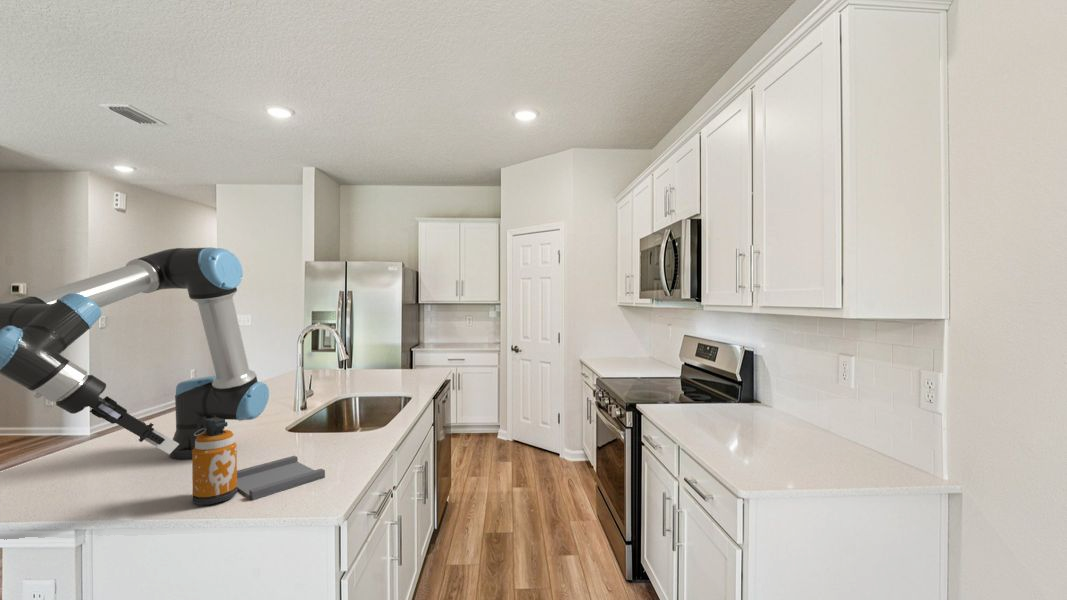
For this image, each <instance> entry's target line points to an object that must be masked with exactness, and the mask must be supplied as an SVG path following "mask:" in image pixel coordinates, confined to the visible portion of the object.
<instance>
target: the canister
mask: <svg viewBox="0 0 1067 600" xmlns="http://www.w3.org/2000/svg"><path fill="white" fill-rule="evenodd" d="M202 424H203V428H201V429H200V426H201V425H202ZM228 425H229V424H228V422H227V421H226V419H220V418H217V417H216V416H215V415H213V417H212V418H210V419H206V418H205V417H204V418H203V419H202V420H201V421H200V422H199V423H198V424H197V428H198V431H197V432H198V435H195V434H196V433H197V432H195V433H194V436H197V438H196V439H195V448H194V449H193V450H192V459H191V460H192V461H191V463H192V466H191V467H192V469H191V470H192V474H191V475H192V503H194V504H197V505H203V504H204V505H205V506H207V505H208V506H209V504H210V505H215V503H216V504H219V502H220V503H222V501H223V502H225V501H227V500H229V499H231V498H233V497H234V496H236V494H237V493H238V490H237V471H238V450H237V449H238V444H237V442H235V435H234V432H233V431H232V430H228V429H225V427H228ZM223 429H224V430H223ZM205 431H206V432H205ZM204 432H205V433H204Z"/></svg>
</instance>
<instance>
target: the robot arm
mask: <svg viewBox="0 0 1067 600" xmlns="http://www.w3.org/2000/svg"><path fill="white" fill-rule="evenodd" d="M243 272H244V271H243V266H242V264H241V261H240V260H239V258H238V257H237V256H236V255H235V254H234V253H232V252H231V251H230V250H228V249H225V248H221V247H220V248H216V247H178V248H177V247H176V248H175V247H174V248H170V249H165V250H160V251H158V252H154V253H151V254H150V253H149V254H147V255H145V256H142V257H138V258H135V259H132V260H129V261H127V263H126V264H125V266H122V267H119V268H116V269H113V270H110V271H106V272H103V273H101V274H97V275H94V276H90V277H88V278H83V279H81V280H78V281H75V282H72V283H68V284H64V285H62V286H58V287H55V288H52V289H49V290H45V291H42V292H39V293H36V294H33V295H30V296H27V297H23V298H22V297H21V298H19V299H16V300H12V301H9V302H5V303H4V302H0V375H1V376H4V377H6V378H7V379H9V380H11V381H13V382H15V383H16V384H18V385H20V386H22V387H24V388H26V389H28V390H29V391H31V392H33V393H35V394H33V396H34V397H33V398H35V399H39V398H41V397H43V398H44V399H45V400H47V401H49V402H50V403H51V402H55V404H56V407H59V408H61V409H62V410H64V411H66V412H68V413H69V414H71V415H72V414H78V413H80V412H81V411H83V410H84V409H86V408H88V407H89V408H91V409H90V410H89V413H91V415H94V416H95V417H97V418H99V419H101V418H102V420H105V421H106V422H109V423H110V424H116V425H118V426H120V427H122V428H123V429H124V430H127V431H129V432H130V433H132V434H134V435H136V437H137V436H138V437H139V439H138V442H140V443H142V442H143V441H146V442H147V443H149V444H151V445H152V446H154V447H156V448H158V449H159V450H161V451H163V452H164V453H166V454H168V456H169V458H171V459H175V460H192V450H193V449H194V448H195V439H196V438H197V436H194V433H195V432H197V431H198V428H197V424H198V423H199V422H200V421H201V420H202V419H203V418H204V417H205V418H206V419H210V418H212V417H213V415H215V416H216V417H217V418H220V419H225V420H230V421H233V420H234V421H239V422H240V421H251V420H252V421H253V420H255V419H257V418H258V417H259V416H260V415H262V414H263V412H264V410H265V409H266V406H267V405H268V402H269V399H270V398H269V397H270V392H269V391H270V389H269V387H268V385H267V384H266V383H265V382H263V381H258V379H257V378H258V377H257V373H256V371H254V370H251V369H250V367H249V363H248V359H247V355H246V351H245V347H244V341H243V338H242V333H241V329H240V324H239V320H238V316H237V311H236V307H235V303H234V298H233V297H234V295H236V293H237V292H238V288H237V287H238V286H240V284H241V282H242V280H243V279H242V278H243V274H244V273H243ZM168 289H169V290H171V289H172V290H173V289H177V290H179V289H184V290H186V291H187V293H188V298H189V299H190V300H192V301H193V302H196V303H197V307H198V309H199V313H200V317H201V322H202V326H203V330H204V333H205V337H206V341H207V345H208V348H209V349H208V350H209V354H210V357H211V360H212V364H213V369H214V373H215V375H212V376H205V377H204V376H203V377H197V378H192V379H188V380H183V381H181V382H179V383H178V384H177V385H176V387H175V395H174V398H175V399H174V403H175V425H176V426H175V432H174V435H173V437H172V438H170V437H169V436H167V435H165V434H164V433H162V432H161V431H159V430H157V429H156V428H154V427H153V426H154V424H153V423H152V422H150V423H149V424H147V423H145V422H144V421H141V420H139V418H136V417H135V416H133V415H131V414H130V413H129V412H128V410H127V409H126V408H124V407H123V406H122V405H120V404H118V402H117V401H115V400H114V399H113V398H111V397H109V396H105V397H104V398H102V397H101V396H100V395H101V394H103V393H104V391H105V390H106V388H107V384H106V383H105V381H103V380H101V379H99V378H97V377H96V376H94V375H93V374H88V371H87V370H85V369H84V368H82V367H80V366H79V365H78V364H76V363H74V362H72V361H71V360H70V359H67V358H66V357H64V356H63V355H61V353H63V352H64V351H65V350H66V349H67V348H69V346H70V345H72V344H74V342H75V341H76V340H77V339H79V338H80V337H81V336H82V335H83V334H85V333H86V332H87V331H88V330H90V329H91V328H92V326H93V325H94V324H95V323H96V322H98V320H99V319H100V318H101V317H102V310H101V308H103V307H106V306H108V305H111V304H113V303H116V302H119V301H122V300H124V299H127V298H130V297H133V296H135V295H138V294H140V293H143V294H150V293H154V292H156V291H160V290H168ZM201 428H203V424H202V425H201V426H200V429H201ZM223 430H225V429H223ZM205 432H206V431H205ZM205 432H204V433H205ZM195 435H198V432H197V433H196V434H195Z"/></svg>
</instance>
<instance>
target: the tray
mask: <svg viewBox="0 0 1067 600" xmlns="http://www.w3.org/2000/svg"><path fill="white" fill-rule="evenodd" d="M325 478H326V471H325V469H323V468H319V469H314V468H311V467H308V466H307V465H305V464H303V463H301V462H299V461H298V456H296V455H291V456H288V457H284V458H281V459H276V460H273V461H269V462H266V463H264V462H263V463H261V464H258V465H257V464H256V465H253V466H250V467H247V468H246V467H245V468H242V469H239V470H238V469H237V489H238V490H237V491H239V492H240V491H241V492H242V493H241V492H240V493H241V494H243V495H244V494H245V495H244V496H246V497H247V496H248V497H247V498H249V499H250V500H252V501H255V500H258V499H261V498H265V497H267V496H270V495H274V494H277V493H281V492H283V491H287V490H290V489H292V488H296V487H298V486H302V485H305V484H308V483H311V482H315V481H318V480H322V479H325Z"/></svg>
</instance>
